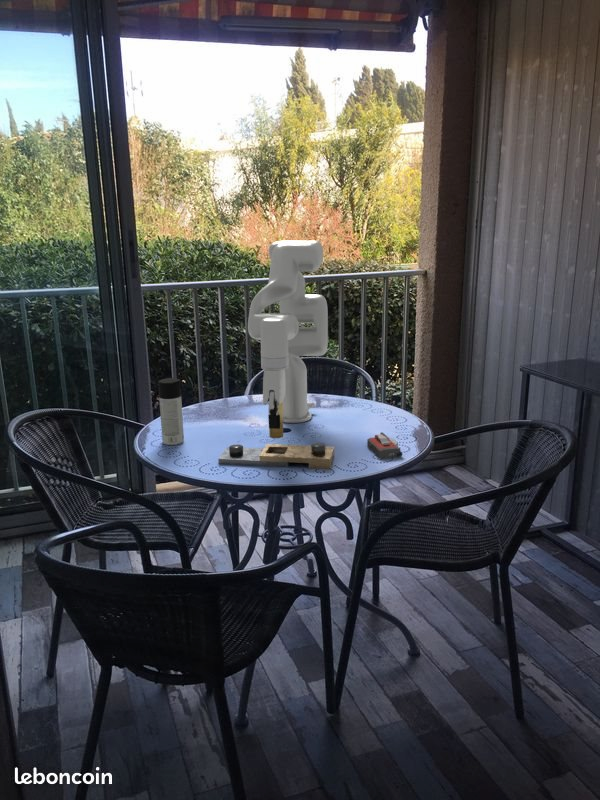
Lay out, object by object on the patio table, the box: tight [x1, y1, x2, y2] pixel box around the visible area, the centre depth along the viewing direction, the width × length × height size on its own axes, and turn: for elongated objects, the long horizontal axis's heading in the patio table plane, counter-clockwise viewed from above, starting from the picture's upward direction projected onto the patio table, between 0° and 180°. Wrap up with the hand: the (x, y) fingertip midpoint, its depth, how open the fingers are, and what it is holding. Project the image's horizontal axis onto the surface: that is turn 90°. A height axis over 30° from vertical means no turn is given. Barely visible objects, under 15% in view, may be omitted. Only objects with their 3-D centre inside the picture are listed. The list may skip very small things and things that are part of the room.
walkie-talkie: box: [366, 431, 403, 460], centre depth 201 cm, size 9×4×20 cm
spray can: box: [157, 377, 185, 446], centre depth 205 cm, size 7×7×20 cm
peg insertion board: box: [218, 442, 335, 470], centre depth 191 cm, size 10×32×5 cm, turn 81°
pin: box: [268, 399, 284, 439], centre depth 188 cm, size 4×4×12 cm
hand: (276, 425), depth 189 cm, fingers closed on pin, 4 cm apart
